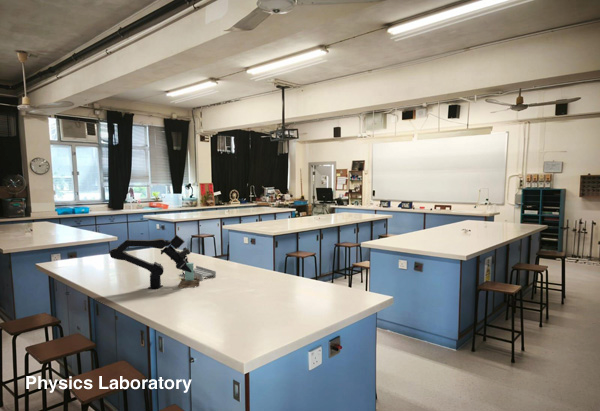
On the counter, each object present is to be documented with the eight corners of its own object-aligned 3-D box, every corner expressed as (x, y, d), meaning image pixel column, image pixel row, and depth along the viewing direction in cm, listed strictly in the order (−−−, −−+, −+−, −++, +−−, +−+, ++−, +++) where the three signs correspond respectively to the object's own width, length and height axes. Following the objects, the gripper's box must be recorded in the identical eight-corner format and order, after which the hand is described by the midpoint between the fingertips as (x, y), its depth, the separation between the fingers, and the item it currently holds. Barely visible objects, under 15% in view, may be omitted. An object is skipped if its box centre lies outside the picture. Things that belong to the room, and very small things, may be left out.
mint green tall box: (185, 283, 218) (184, 264, 217) (185, 282, 221) (185, 263, 221) (194, 283, 219) (194, 263, 219) (195, 281, 223) (194, 262, 222)
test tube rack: (201, 280, 230) (218, 276, 239) (201, 274, 229) (218, 270, 239) (182, 273, 246) (199, 270, 256) (182, 267, 246) (198, 264, 256)
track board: (179, 287, 214) (178, 280, 214) (180, 283, 224) (180, 276, 223) (199, 286, 217) (199, 279, 217) (199, 281, 227) (199, 275, 226)
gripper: (181, 247, 209) (200, 264, 212) (183, 242, 227) (201, 257, 230) (167, 260, 207) (187, 277, 211) (170, 254, 225) (188, 270, 229)
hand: (191, 270), depth 220 cm, fingers open, 9 cm apart
